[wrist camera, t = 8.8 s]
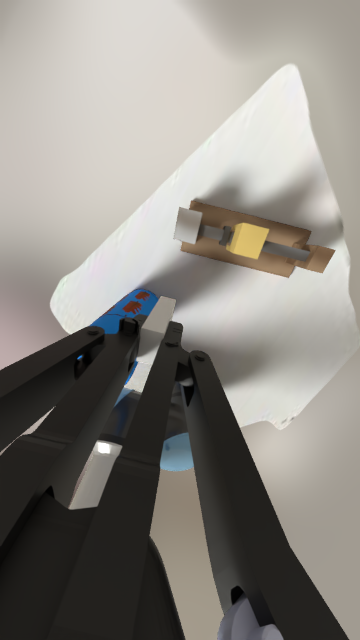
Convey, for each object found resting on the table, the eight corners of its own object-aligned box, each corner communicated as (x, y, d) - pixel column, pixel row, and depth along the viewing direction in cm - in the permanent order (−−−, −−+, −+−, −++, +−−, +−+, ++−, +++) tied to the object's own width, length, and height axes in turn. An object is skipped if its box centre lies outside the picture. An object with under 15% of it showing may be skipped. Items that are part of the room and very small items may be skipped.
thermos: (116, 301, 50) (49, 356, 28) (145, 280, 47) (95, 323, 24) (141, 330, 53) (98, 400, 31) (169, 313, 50) (145, 377, 28)
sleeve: (244, 253, 37) (257, 259, 29) (225, 249, 37) (233, 253, 29) (253, 230, 35) (269, 229, 27) (233, 225, 35) (243, 222, 27)
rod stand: (288, 277, 43) (313, 289, 34) (176, 249, 43) (170, 253, 33) (311, 231, 39) (346, 230, 29) (186, 200, 38) (182, 189, 29)
